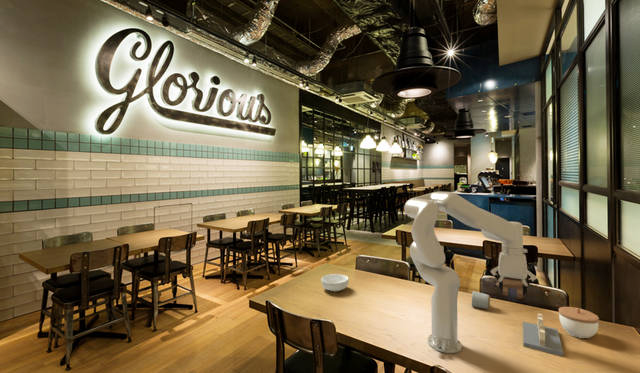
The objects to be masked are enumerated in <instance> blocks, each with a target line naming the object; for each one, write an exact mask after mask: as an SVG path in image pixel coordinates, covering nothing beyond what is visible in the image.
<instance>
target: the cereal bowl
mask: <svg viewBox="0 0 640 373" xmlns="http://www.w3.org/2000/svg"><path fill="white" fill-rule="evenodd" d="M320 282H321V286H322V287H323V289H325V290H326V291H329V290H330V291H329V292H331V291H334V292H333V293H336V292H335V291H339V292H341V291H342V290H344V289H345V288H347V286H348V285H349V277H348V276H347V275H344V274H341V273H332V274H331V273H330V274H326V275H323V276H322V277H321V280H320ZM340 290H341V291H340Z"/></svg>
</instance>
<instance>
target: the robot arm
mask: <svg viewBox="0 0 640 373" xmlns="http://www.w3.org/2000/svg"><path fill="white" fill-rule="evenodd" d="M403 208H404V213H405V214H406V215H407V217H409V218H411V219H414V220H413V222H412V225H411V226H412V227H411V237H412V239H413V240H412V241H413V242H412V243H411V244H410V245H409V256H410V257H411V259H412V260H411V261H412V262H413V264H414V266H415V269H416V270H417V271H418V274H419V276H420V277H421V278H422V279H423V280H424V281H425V282H426V283H428V284H430V285H431V286H433V287H434V290H433V292H432V295H431V301H430V303H431V334H430V335H429V336H428V337H427V343H428V345H429V346H430V347H431V348H432V349H433V350H435V351H438V352H440V353H441V352H442V353H443V354H444V353H445V354H457V353H459V352H461V351H462V349H463V345H462V342H461V341H460V340H459V339H458V295H459V290H460V284H461V279H460V276H459V274H458V273H457V272H456V271H455V270H454V269H453V268H451V267H449V266H446V265H445V262H446V254H445V252H444V250H443V247H442V245H441V244H440V241H439V240H438V237H437V235H436V232H435V224H436V221H437V219H438V217H439V214H440V212H442V213H445V214H447V215H449V216H451V217H452V218H455V219H456V220H458V221H459V222H461V223H462V224H464V225H466V226H468V227H471V228H474V229H477V230H481V234H482V235H483V236H484V237H485V238H487V239H489V240H493V241H497V242H501V252H499V255H498V265H497V266H496V267H494V268H492V269H491V270H490V273H491V274H492V275H493V277H494V278H495V279H496V280H497V281H498V286H499V287H498V289H500V291H501V292H502V293H503V278H504V277H508V278H515V279H521V280H522V281H523V296H525V295H526V294H527V293H528V286H529V285H530V284H532V283H533V282H534V281H536V280H537V276H536V275H535V274H533V273H532V272H531V271H530V270H529V269H528V264H527V263H528V262H527V257H526V253H527V254H528V249H527V248H524V226H523V223H521V222H519V221H508V220H507V219H505V218H503V217H501V216H499V215H497V214H495V213H492V212H490V211H487V210H485V209H483V208H480V207H478V206H477V205H475V204H473V203H472V202H470V201H468V200H467V199H465V198H464V197H462V196H461V195H458V194H457V193H455V192H452V191H440V190H439V191H433V192H430V193H427V194H423V195H420V196H419V195H418V196H415V197H412V198H409V199H408V200H406V202H405V204H404V206H403ZM497 272H498V274H497ZM528 277H530V278H528ZM527 278H528V279H527Z"/></svg>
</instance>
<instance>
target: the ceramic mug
mask: <svg viewBox="0 0 640 373" xmlns="http://www.w3.org/2000/svg"><path fill="white" fill-rule="evenodd" d="M471 294H472V295H471V307H475V308H480V309H485V310H488V309H489V310H490V307H491V306H490V305H491V304H490V303H491V296H490V295H489V294H487V293H484V292H479V291H476V290H472V293H471Z"/></svg>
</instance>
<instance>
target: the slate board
mask: <svg viewBox="0 0 640 373" xmlns="http://www.w3.org/2000/svg"><path fill="white" fill-rule="evenodd" d="M543 326H544V325H543ZM544 329H545V347H544V346H540V342H539V334H538V325H537V324H536V323H531V322H527V321H522V337H523V338H522V339H523V342H522V343H523V347H524V348H530V349H533V350H537V351H541V352H545V353H548V354H552V355H556V356H559V357H564V351H563V347H562V341H561V338H560V334H559V330H558V328H554V327H551V326H550V327H549V326H544Z"/></svg>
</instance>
